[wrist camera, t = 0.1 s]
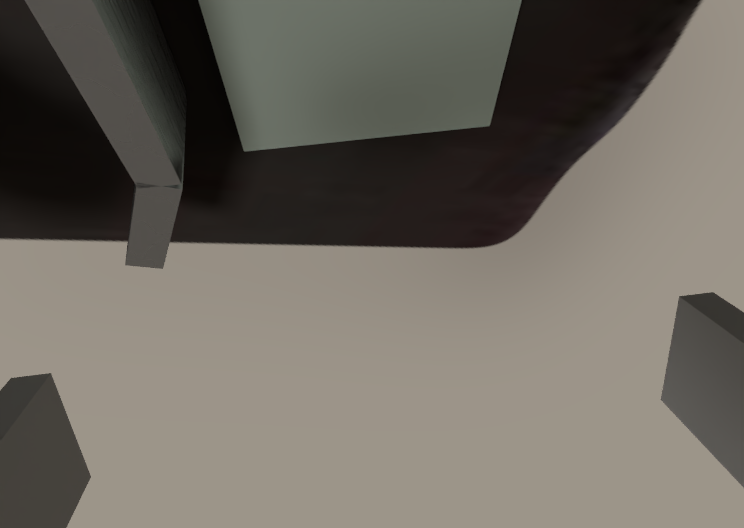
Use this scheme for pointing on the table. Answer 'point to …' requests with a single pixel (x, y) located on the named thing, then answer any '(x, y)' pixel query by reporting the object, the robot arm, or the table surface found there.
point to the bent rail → (128, 104)
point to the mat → (358, 66)
